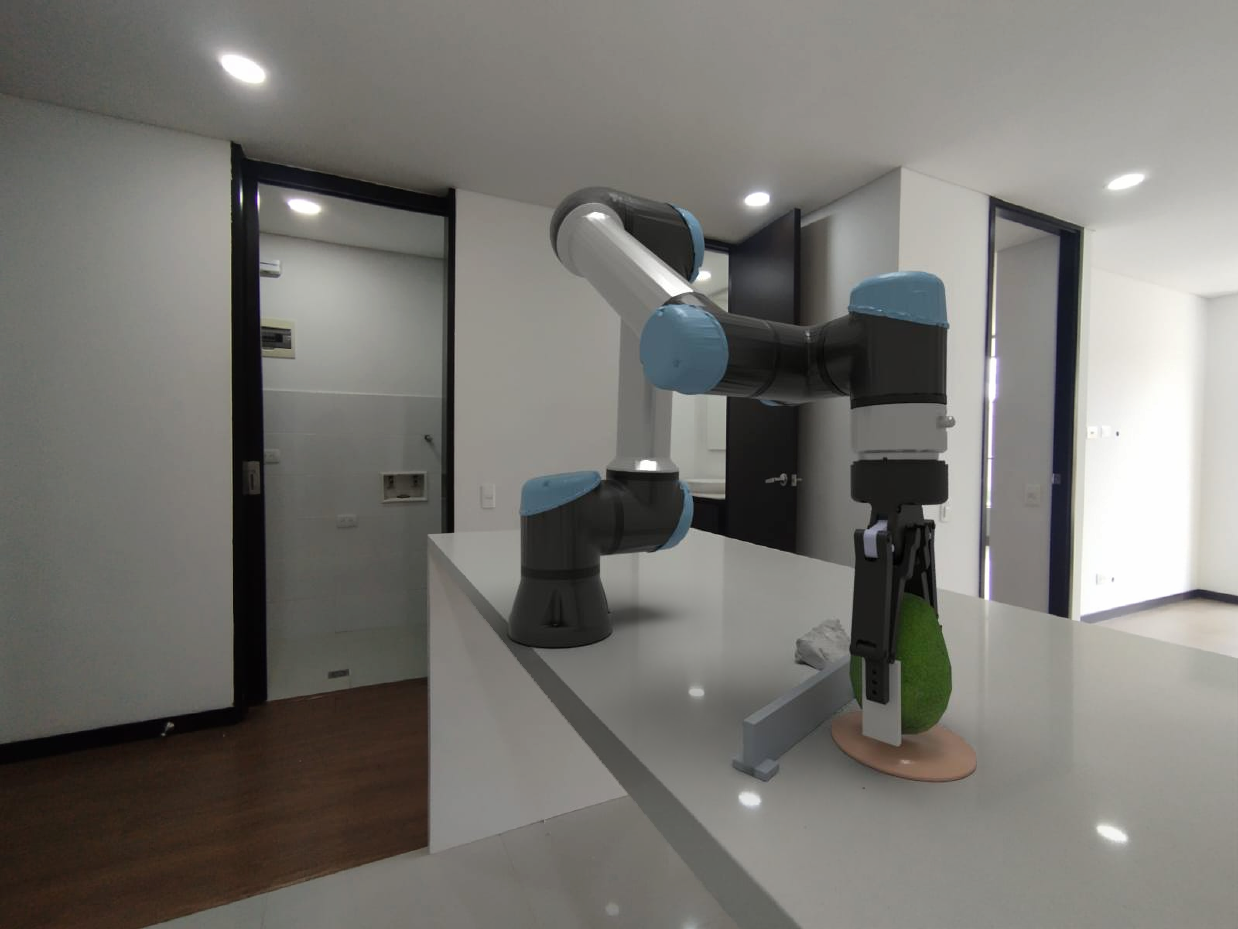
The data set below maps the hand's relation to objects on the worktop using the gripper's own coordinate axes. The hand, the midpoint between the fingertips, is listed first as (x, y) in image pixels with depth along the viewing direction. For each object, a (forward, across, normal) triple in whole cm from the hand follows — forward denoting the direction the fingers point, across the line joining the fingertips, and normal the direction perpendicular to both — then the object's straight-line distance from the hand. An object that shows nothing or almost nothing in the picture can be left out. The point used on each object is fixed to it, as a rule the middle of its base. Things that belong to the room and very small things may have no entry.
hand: (898, 720), depth 46 cm
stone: (+3, +16, +13) cm, 21 cm away
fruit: (+1, 0, 0) cm, 1 cm away
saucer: (+2, 0, 0) cm, 2 cm away
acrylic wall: (+2, -2, +7) cm, 7 cm away
